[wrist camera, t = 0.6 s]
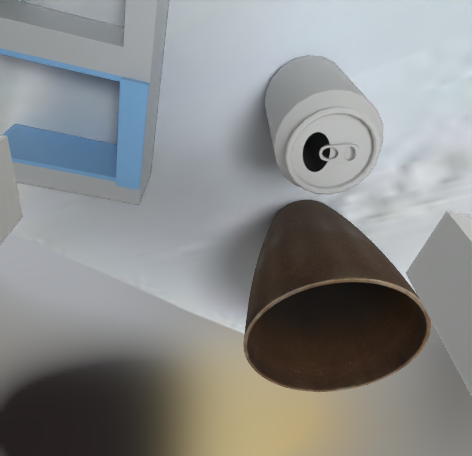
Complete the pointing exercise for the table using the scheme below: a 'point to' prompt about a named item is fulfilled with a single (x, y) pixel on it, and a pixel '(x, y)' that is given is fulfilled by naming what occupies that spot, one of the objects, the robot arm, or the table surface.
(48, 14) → the folding screen
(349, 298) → the plant pot
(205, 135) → the table surface
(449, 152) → the table surface
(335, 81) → the can
